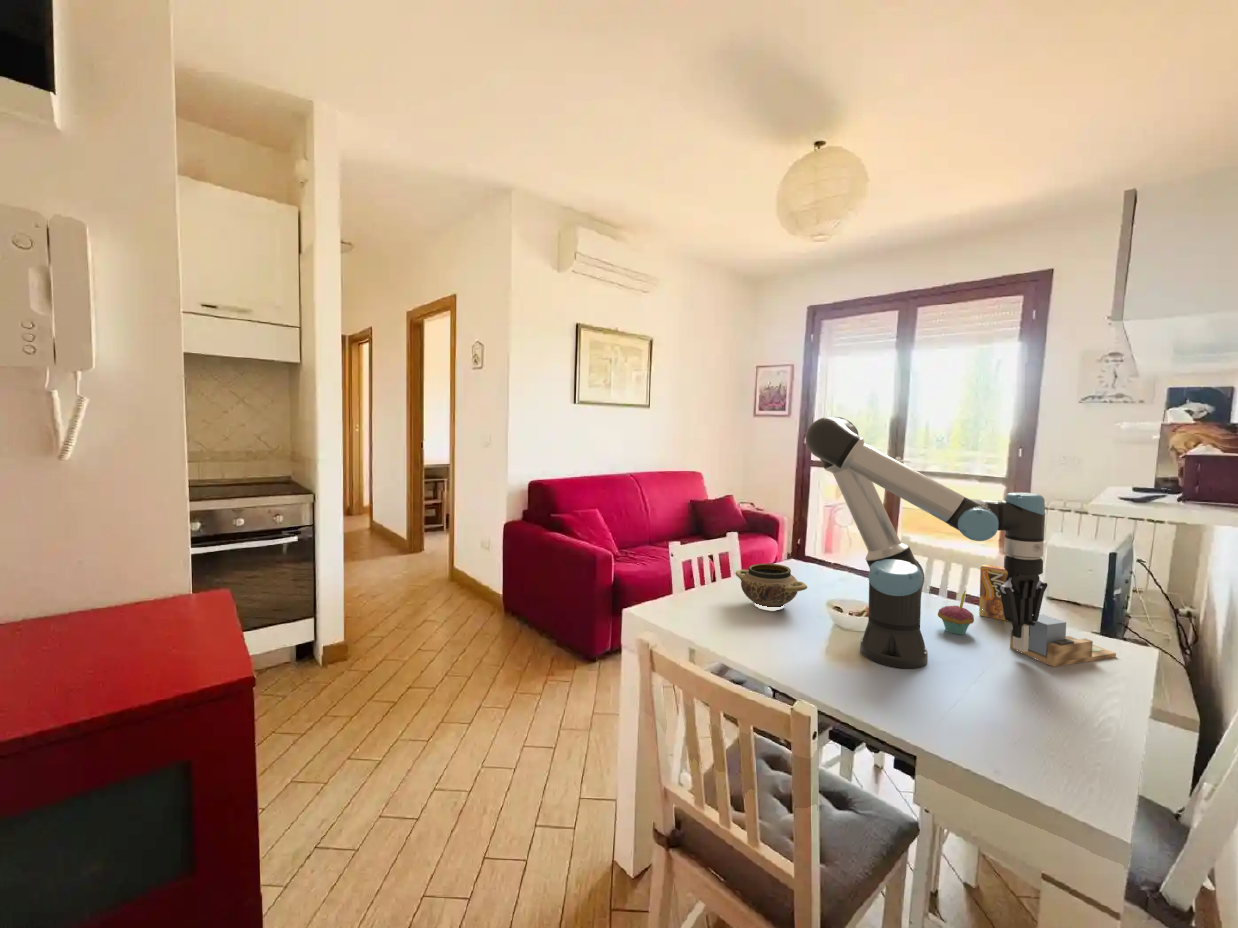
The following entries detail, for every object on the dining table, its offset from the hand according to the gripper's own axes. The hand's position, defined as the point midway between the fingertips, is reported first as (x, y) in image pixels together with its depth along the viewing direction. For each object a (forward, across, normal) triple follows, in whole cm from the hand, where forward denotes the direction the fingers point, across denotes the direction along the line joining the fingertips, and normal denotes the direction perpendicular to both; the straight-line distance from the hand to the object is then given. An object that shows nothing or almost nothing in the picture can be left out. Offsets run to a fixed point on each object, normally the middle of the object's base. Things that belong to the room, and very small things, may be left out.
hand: (1020, 649), depth 126 cm
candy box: (+3, +21, +23) cm, 31 cm away
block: (+1, +8, 0) cm, 8 cm away
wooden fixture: (+3, +14, 0) cm, 14 cm away
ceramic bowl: (+2, -41, +50) cm, 64 cm away
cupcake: (+3, 0, +18) cm, 18 cm away
